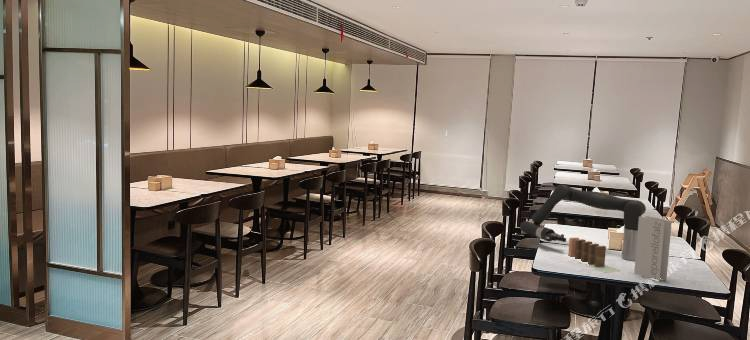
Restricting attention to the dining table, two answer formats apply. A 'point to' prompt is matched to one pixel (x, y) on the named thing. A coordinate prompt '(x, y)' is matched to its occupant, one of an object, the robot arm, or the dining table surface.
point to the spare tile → (572, 246)
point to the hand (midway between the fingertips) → (565, 240)
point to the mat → (605, 269)
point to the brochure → (652, 247)
